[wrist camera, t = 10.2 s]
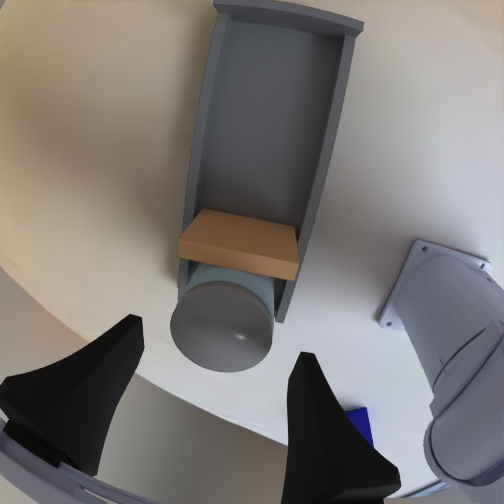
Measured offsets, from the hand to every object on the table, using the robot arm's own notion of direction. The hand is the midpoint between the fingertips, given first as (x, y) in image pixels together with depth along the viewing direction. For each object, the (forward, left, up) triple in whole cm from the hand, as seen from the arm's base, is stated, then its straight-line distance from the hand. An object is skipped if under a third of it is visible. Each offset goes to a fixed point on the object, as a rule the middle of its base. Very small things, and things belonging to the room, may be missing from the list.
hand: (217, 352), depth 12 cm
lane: (0, -6, -9) cm, 11 cm away
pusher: (0, -3, -8) cm, 9 cm away
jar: (0, +1, -8) cm, 8 cm away
